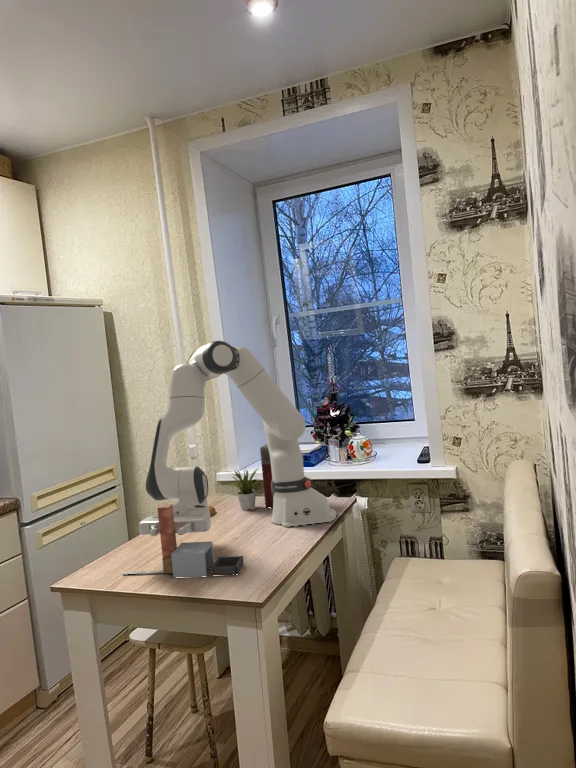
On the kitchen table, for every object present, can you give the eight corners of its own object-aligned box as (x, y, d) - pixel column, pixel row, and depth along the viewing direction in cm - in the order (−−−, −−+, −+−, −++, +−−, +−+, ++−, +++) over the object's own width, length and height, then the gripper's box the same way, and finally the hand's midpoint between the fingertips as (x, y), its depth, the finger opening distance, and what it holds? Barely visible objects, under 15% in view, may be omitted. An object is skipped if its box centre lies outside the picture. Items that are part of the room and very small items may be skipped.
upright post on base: (203, 565, 167) (197, 502, 166) (199, 571, 162) (192, 506, 161) (168, 566, 168) (162, 504, 167) (163, 573, 164) (156, 508, 163)
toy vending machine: (299, 501, 229) (292, 428, 228) (287, 509, 219) (280, 433, 217) (278, 500, 233) (271, 429, 231) (265, 508, 223) (258, 434, 221)
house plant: (223, 515, 219) (218, 471, 218) (228, 505, 232) (224, 463, 231) (261, 512, 218) (257, 468, 217) (265, 502, 232) (261, 461, 231)
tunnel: (214, 564, 169) (212, 541, 168) (206, 577, 160) (203, 552, 160) (183, 566, 170) (181, 542, 170) (173, 578, 161) (171, 554, 161)
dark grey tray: (243, 564, 167) (243, 556, 167) (237, 575, 159) (236, 566, 159) (219, 565, 168) (218, 557, 168) (212, 576, 160) (211, 567, 160)
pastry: (207, 511, 228) (206, 501, 227) (220, 513, 224) (219, 503, 223) (189, 518, 220) (188, 508, 220) (202, 520, 216) (201, 509, 216)
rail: (214, 569, 165) (214, 568, 165) (213, 571, 164) (213, 570, 164) (124, 573, 169) (124, 572, 168) (122, 575, 167) (122, 574, 167)
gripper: (147, 509, 179) (129, 523, 166) (213, 505, 176) (201, 519, 163) (149, 529, 180) (131, 545, 166) (215, 526, 177) (203, 542, 163)
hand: (166, 532), depth 164 cm, fingers open, 6 cm apart
